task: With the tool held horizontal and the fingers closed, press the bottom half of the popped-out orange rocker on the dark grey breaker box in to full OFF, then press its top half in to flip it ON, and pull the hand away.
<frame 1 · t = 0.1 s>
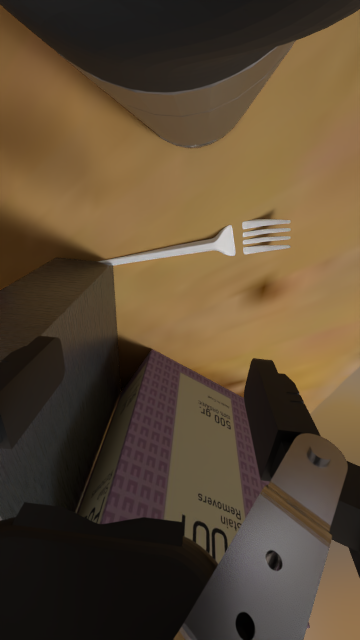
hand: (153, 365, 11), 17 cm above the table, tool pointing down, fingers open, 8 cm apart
box: (189, 397, 36), on the table
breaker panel: (94, 345, 32), on the table
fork: (181, 248, 26), on the table, touching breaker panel
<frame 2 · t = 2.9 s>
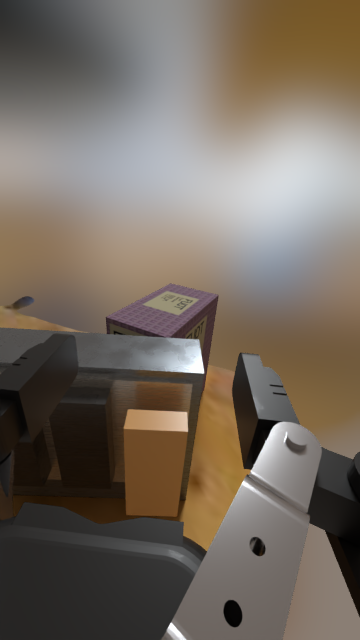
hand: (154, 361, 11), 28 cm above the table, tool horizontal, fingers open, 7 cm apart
box: (163, 407, 46), on the table
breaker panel: (103, 473, 35), on the table
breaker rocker: (154, 463, 24), point 12 cm above the table, hinge at 0.0°
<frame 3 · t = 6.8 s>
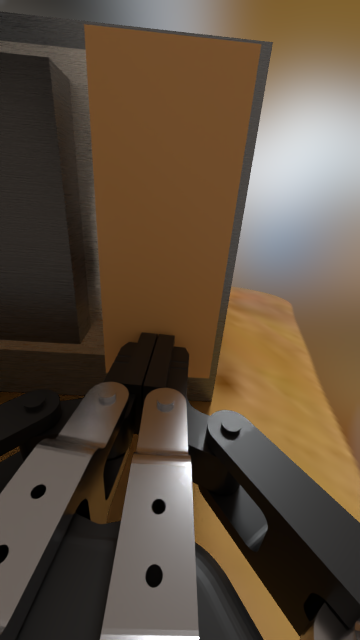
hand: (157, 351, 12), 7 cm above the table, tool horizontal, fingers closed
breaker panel: (78, 369, 22), on the table
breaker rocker: (165, 244, 11), point 12 cm above the table, hinge at 0.0°, touching gripper
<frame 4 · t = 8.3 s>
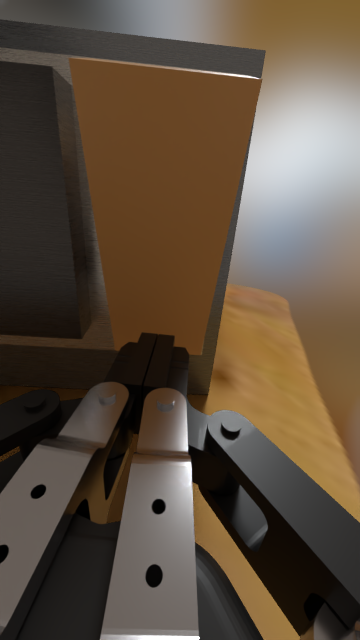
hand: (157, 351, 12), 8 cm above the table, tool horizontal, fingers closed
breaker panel: (79, 364, 22), on the table
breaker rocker: (162, 249, 12), point 12 cm above the table, hinge at 18.5°
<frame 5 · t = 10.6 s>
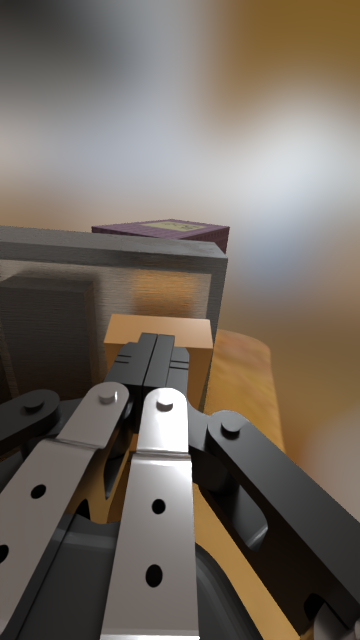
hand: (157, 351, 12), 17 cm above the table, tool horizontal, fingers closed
box: (163, 367, 39), on the table
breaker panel: (89, 433, 27), on the table
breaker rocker: (157, 391, 17), point 12 cm above the table, hinge at 15.8°, touching gripper
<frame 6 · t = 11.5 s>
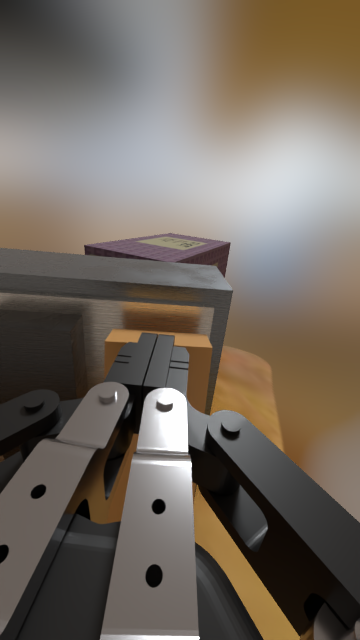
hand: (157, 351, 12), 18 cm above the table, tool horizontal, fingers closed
box: (160, 387, 37), on the table
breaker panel: (79, 466, 25), on the table
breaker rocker: (153, 434, 15), point 12 cm above the table, hinge at -10.4°, touching gripper
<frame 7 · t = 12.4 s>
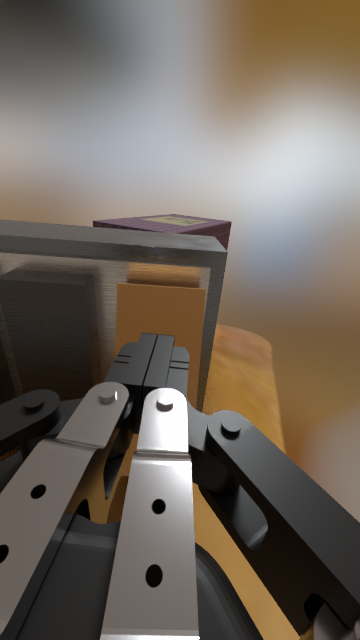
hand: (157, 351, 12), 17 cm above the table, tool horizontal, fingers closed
box: (164, 361, 39), on the table
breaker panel: (91, 426, 28), on the table
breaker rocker: (157, 378, 17), point 12 cm above the table, hinge at -18.2°
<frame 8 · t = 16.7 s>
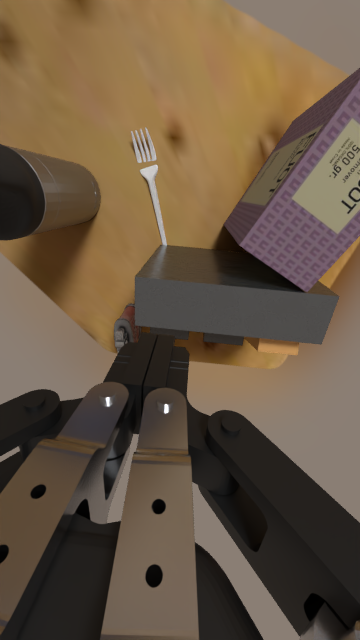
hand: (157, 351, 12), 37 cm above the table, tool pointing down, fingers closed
box: (277, 194, 41), on the table
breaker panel: (219, 266, 47), on the table
lighter: (133, 321, 54), on the table
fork: (156, 202, 44), on the table, touching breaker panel
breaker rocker: (265, 333, 39), point 12 cm above the table, hinge at -18.6°
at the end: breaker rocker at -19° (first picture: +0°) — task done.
